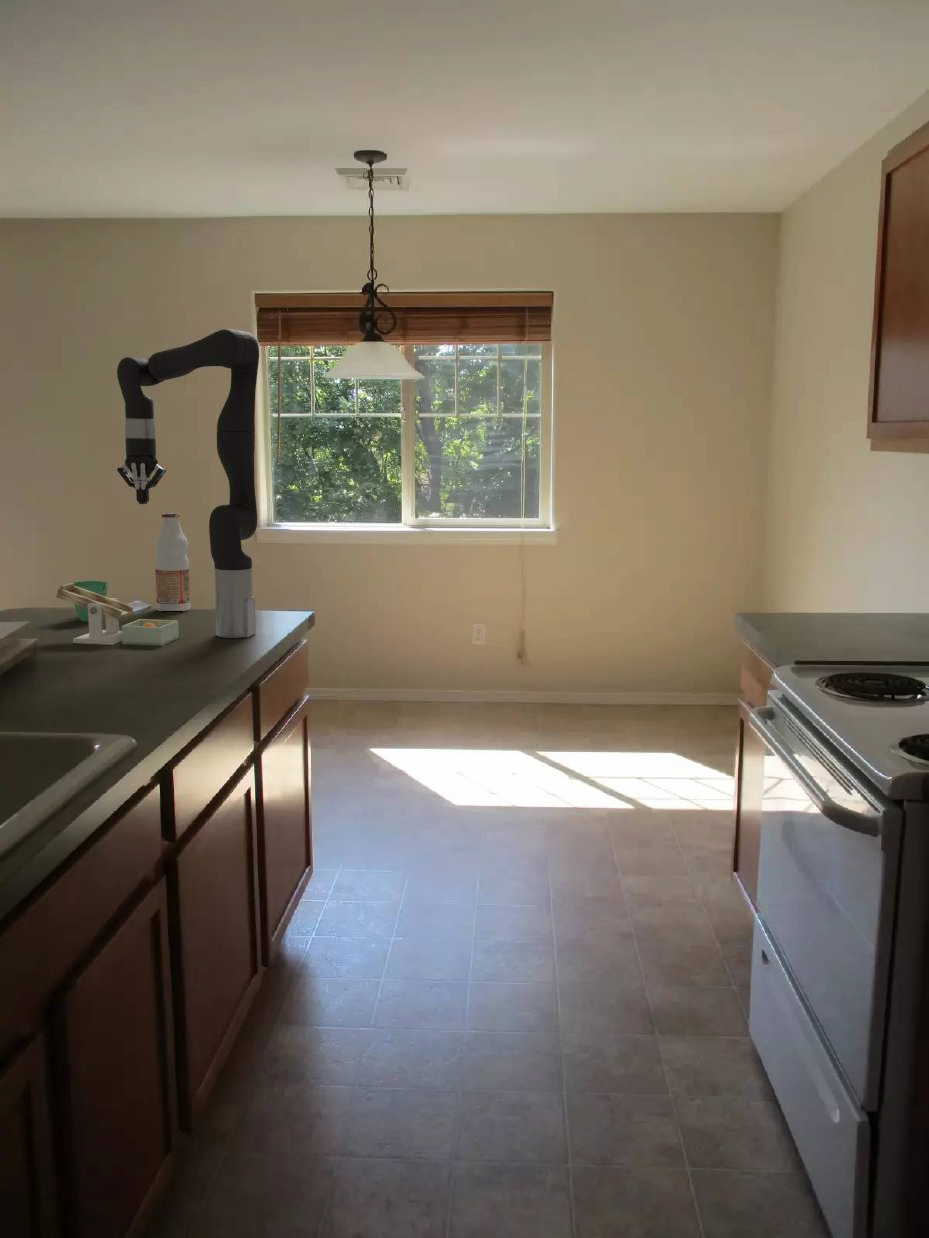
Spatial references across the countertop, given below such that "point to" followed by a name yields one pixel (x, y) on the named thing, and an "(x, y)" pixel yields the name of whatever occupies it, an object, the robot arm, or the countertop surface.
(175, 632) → the pale green tray
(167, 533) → the fruit juice
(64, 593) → the lever
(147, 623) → the ball
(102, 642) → the stand
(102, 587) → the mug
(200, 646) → the countertop surface
